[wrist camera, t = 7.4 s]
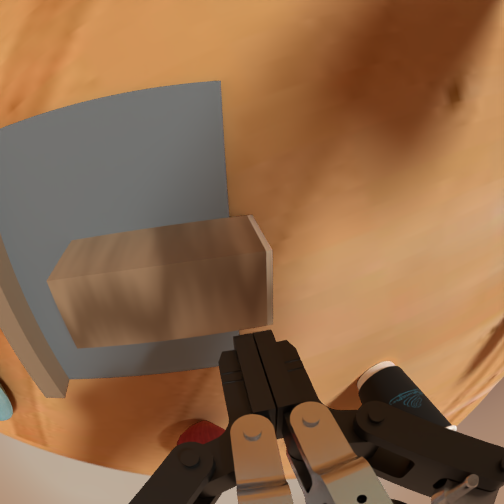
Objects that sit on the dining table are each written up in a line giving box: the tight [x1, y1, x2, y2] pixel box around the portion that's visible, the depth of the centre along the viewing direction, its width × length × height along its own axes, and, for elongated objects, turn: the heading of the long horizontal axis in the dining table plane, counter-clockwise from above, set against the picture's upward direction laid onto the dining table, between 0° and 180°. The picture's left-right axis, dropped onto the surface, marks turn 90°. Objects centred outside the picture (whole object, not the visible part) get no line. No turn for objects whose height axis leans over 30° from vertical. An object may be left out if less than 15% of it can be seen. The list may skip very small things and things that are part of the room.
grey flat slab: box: [0, 81, 239, 398], centre depth 17 cm, size 20×17×2 cm
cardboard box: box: [47, 215, 273, 349], centre depth 16 cm, size 4×4×11 cm
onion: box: [177, 420, 225, 445], centre depth 24 cm, size 6×6×8 cm
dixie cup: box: [357, 361, 457, 431], centre depth 26 cm, size 8×8×11 cm
